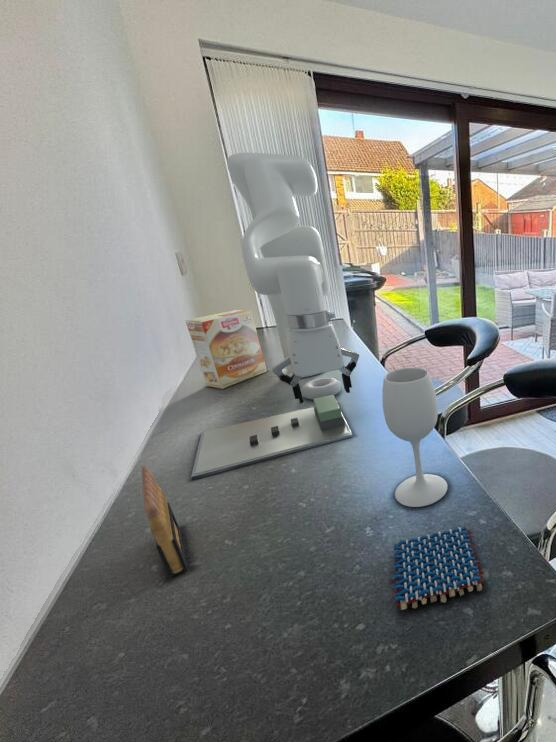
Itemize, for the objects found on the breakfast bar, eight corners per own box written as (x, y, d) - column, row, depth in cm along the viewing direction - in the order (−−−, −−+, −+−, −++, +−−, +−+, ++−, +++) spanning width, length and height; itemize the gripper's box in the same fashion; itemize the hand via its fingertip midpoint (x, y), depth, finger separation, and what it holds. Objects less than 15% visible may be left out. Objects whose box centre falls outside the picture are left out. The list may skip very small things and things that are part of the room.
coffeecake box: (222, 389, 112) (201, 321, 105) (205, 386, 115) (183, 320, 108) (268, 371, 125) (252, 310, 118) (252, 369, 128) (235, 309, 121)
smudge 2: (271, 430, 87) (270, 427, 87) (278, 428, 87) (278, 425, 87) (272, 435, 85) (271, 432, 84) (279, 434, 85) (278, 430, 85)
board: (202, 434, 88) (201, 431, 87) (336, 403, 101) (335, 401, 101) (192, 480, 72) (190, 476, 71) (352, 436, 85) (352, 433, 85)
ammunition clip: (187, 570, 53) (156, 496, 48) (170, 578, 51) (135, 503, 47) (179, 528, 60) (151, 461, 56) (164, 535, 59) (134, 466, 54)
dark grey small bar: (291, 422, 90) (290, 419, 90) (298, 420, 91) (297, 417, 91) (292, 427, 88) (291, 423, 88) (299, 425, 89) (298, 422, 88)
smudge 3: (250, 439, 83) (249, 436, 83) (258, 437, 84) (257, 434, 84) (250, 445, 81) (249, 442, 81) (258, 443, 82) (257, 440, 81)
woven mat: (486, 592, 48) (486, 579, 47) (397, 616, 46) (394, 604, 45) (469, 532, 58) (468, 521, 57) (394, 550, 55) (392, 538, 54)
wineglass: (422, 514, 61) (406, 390, 54) (384, 496, 66) (363, 379, 58) (458, 484, 68) (447, 370, 60) (420, 470, 73) (406, 361, 65)
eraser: (315, 413, 94) (311, 398, 93) (337, 408, 96) (334, 393, 95) (321, 430, 86) (317, 414, 85) (345, 424, 88) (342, 408, 87)
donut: (295, 402, 103) (333, 401, 102) (292, 390, 101) (330, 389, 101) (313, 387, 112) (348, 386, 112) (310, 376, 111) (346, 375, 110)
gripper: (348, 312, 90) (360, 382, 96) (260, 323, 82) (280, 399, 88) (355, 317, 84) (368, 392, 90) (261, 330, 76) (282, 411, 82)
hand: (324, 395), depth 89 cm, fingers open, 9 cm apart
